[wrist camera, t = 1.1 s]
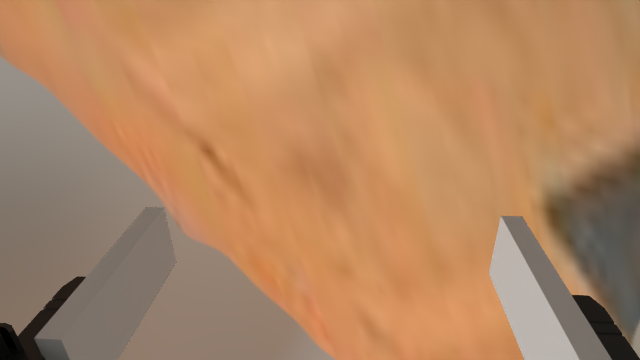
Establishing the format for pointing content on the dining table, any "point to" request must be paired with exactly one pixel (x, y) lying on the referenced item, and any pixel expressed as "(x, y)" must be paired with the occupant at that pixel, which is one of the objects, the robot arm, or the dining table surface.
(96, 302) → the robot arm
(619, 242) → the dining table surface
